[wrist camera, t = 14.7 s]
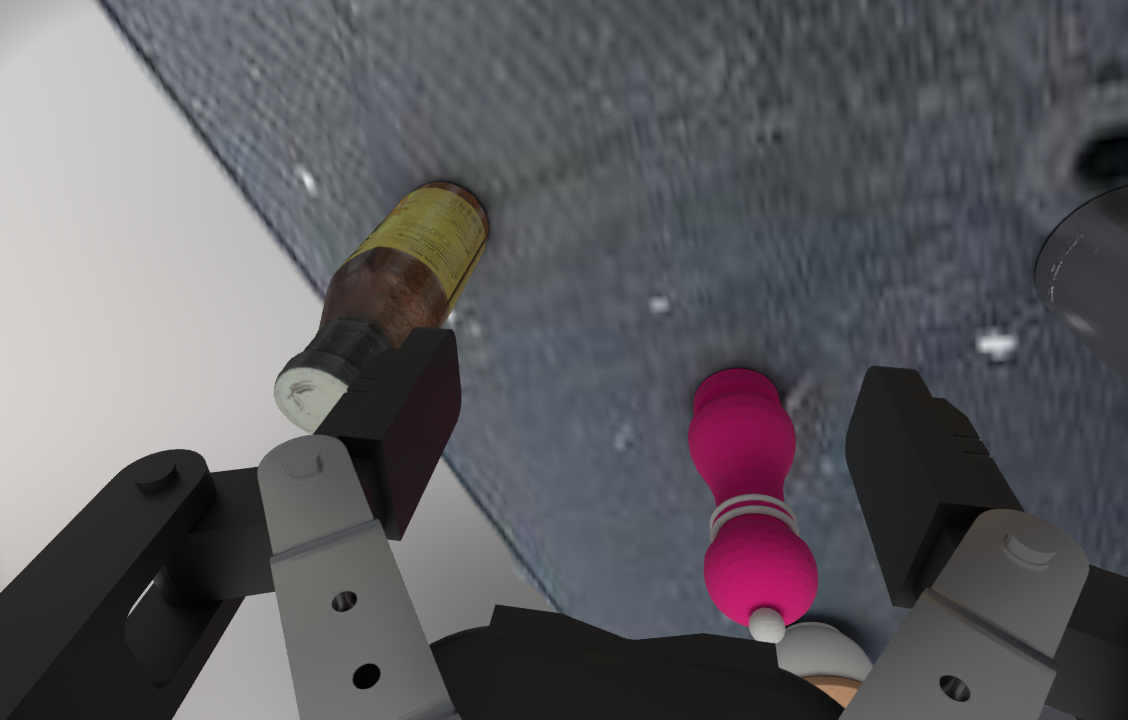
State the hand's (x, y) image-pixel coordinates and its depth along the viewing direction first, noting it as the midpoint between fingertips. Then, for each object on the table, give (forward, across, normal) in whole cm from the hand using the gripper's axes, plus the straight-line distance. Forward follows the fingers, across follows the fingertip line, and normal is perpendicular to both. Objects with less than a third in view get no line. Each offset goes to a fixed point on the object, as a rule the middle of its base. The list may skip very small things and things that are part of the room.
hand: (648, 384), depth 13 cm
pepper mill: (+30, -7, +22) cm, 38 cm away
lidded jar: (+30, -18, +49) cm, 61 cm away
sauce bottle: (+30, +14, +9) cm, 34 cm away
